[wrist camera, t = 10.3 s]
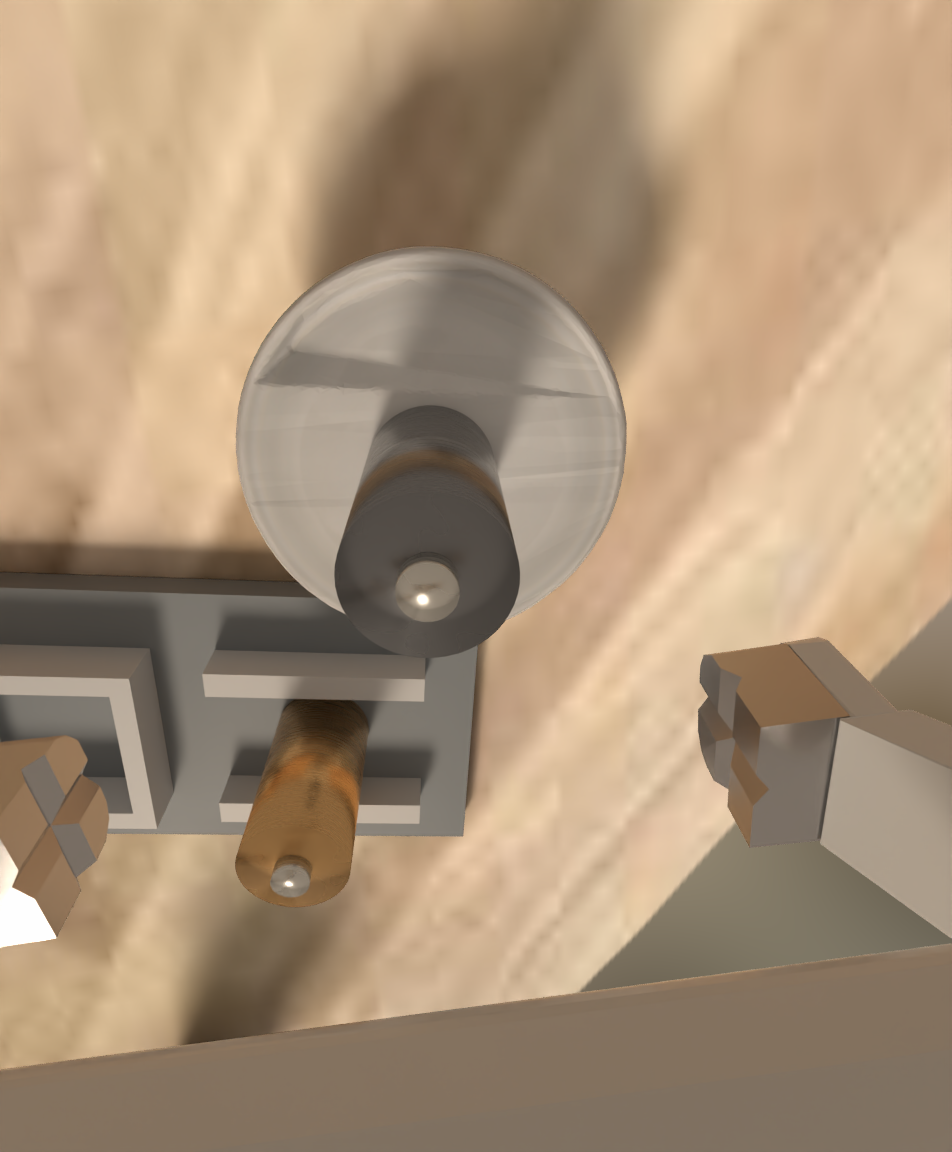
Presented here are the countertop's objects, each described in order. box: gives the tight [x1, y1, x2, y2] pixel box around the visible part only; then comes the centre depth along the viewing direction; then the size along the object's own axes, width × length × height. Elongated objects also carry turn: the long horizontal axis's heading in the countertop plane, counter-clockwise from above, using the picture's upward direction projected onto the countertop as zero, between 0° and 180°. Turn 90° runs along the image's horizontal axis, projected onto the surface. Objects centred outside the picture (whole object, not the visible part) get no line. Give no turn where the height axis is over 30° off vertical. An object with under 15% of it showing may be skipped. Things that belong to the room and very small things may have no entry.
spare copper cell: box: [235, 699, 369, 907], centre depth 25 cm, size 4×4×8 cm
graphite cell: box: [334, 405, 520, 658], centre depth 17 cm, size 4×4×8 cm
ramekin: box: [236, 246, 627, 620], centre depth 22 cm, size 11×11×5 cm
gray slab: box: [0, 572, 478, 836], centre depth 28 cm, size 22×12×3 cm, turn 86°
